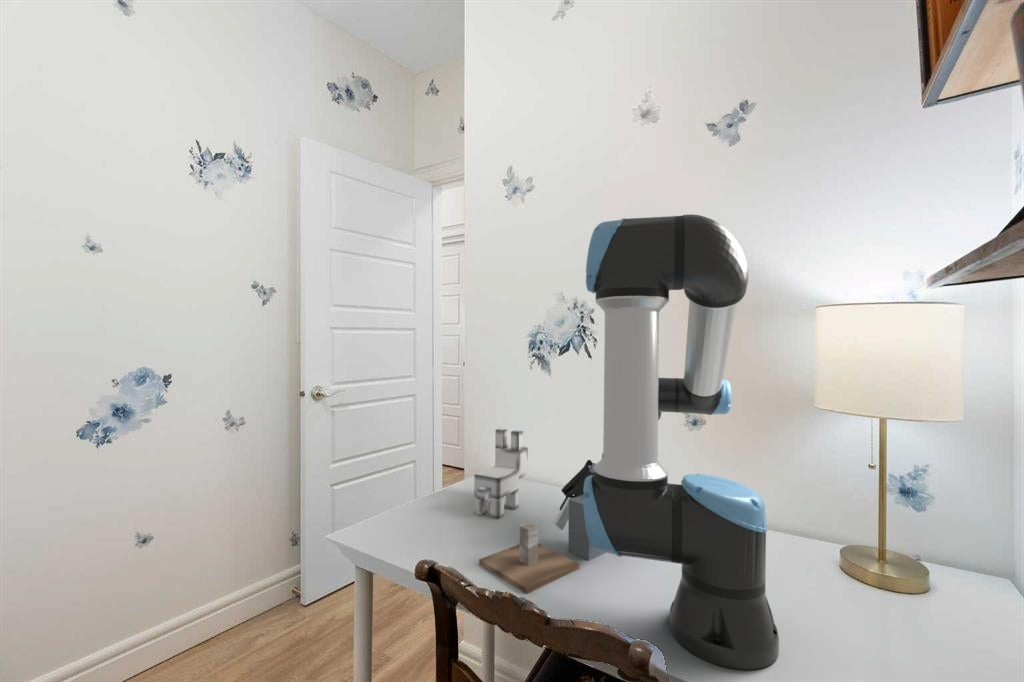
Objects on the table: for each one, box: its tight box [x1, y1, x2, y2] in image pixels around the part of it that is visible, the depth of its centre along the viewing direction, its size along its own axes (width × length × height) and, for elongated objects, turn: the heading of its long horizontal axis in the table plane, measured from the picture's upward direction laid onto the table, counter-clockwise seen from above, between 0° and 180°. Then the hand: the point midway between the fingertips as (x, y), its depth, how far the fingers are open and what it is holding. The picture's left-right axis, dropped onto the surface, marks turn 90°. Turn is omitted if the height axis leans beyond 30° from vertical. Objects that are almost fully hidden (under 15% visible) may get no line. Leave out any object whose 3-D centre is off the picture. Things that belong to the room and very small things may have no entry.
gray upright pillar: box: [567, 495, 607, 561], centre depth 98 cm, size 6×6×11 cm
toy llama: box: [473, 427, 529, 520], centre depth 123 cm, size 8×18×20 cm, turn 150°
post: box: [478, 522, 580, 594], centre depth 91 cm, size 14×14×8 cm
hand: (578, 535), depth 96 cm, fingers open, 11 cm apart
